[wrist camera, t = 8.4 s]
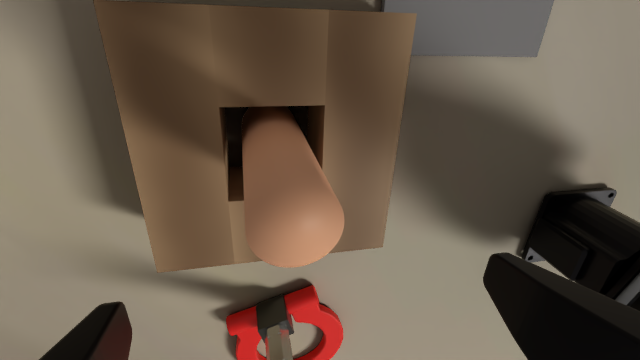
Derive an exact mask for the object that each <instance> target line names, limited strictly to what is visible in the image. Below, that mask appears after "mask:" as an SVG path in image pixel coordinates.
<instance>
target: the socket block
mask: <svg viewBox="0 0 640 360" xmlns="http://www.w3.org/2000/svg"><path fill="white" fill-rule="evenodd" d="M93 2H94V6H95V11H96V15H97V19H98V23H99V28H100V32H101V36H102V40H103V44H104V49H105V53H106V57H107V61H108V66H109V70H110V74H111V78H112V83H113V87H114V91H115V95H116V100H117V104H118V108H119V112H120V117H121V121H122V125H123V129H124V133H125V138H126V142H127V146H128V150H129V155H130V159H131V163H132V167H133V172H134V176H135V180H136V184H137V189H138V193H139V197H140V201H141V206H142V210H143V214H144V218H145V222H146V227H147V231H148V235H149V239H150V244H151V248H152V252H153V256H154V261H155V265H156V269H157V273H160V272H168V271H177V270H186V269H195V268H204V267H212V266H221V265H230V264H239V263H248V262H256V261H263V260H261V259H260V258H259V257H257V256H256V255H255V254H254V253H253V251H252V250H251V249H250V247H249V245H248V243H247V240H246V235H245V213H244V184H243V167H230V160H229V150H228V139H227V128H226V118H225V107H262V106H308V131H307V142H308V144H309V146H310V148H311V150H312V152H313V154H314V156H315V157H316V159H317V161H318V163H319V165H320V167H321V169H322V171H323V173H324V174H325V176H326V178H327V180H328V182H329V184H330V186H331V188H332V190H333V191H334V193H335V195H336V197H337V199H338V201H339V203H340V205H341V207H342V209H343V212H344V218H345V219H344V229H343V233H342V235H341V237H340V239H339V241H338V243H337V244H336V245H335V247H334V248H333V249H332V250H331V251H330V252H329V253H335V252H344V251H353V250H362V249H371V248H379V247H383V242H384V235H385V228H386V221H387V214H388V207H389V201H390V194H391V187H392V180H393V173H394V166H395V160H396V153H397V146H398V139H399V132H400V126H401V119H402V112H403V105H404V98H405V91H406V85H407V78H408V71H409V64H410V57H411V50H412V44H413V37H414V30H415V23H416V16H417V13H394V12H370V11H346V10H322V9H298V8H274V7H250V6H226V5H202V4H178V3H154V2H131V1H107V0H93Z"/></svg>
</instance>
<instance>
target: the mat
mask: <svg viewBox="0 0 640 360" xmlns="http://www.w3.org/2000/svg"><path fill="white" fill-rule="evenodd" d="M553 2H554V0H382V7H381V12H394V13H417V16H416V23H415V30H414V37H413V44H412V50H411V55H428V56H503V57H537V55H538V51H539V48H540V45H541V42H542V38H543V35H544V32H545V28H546V25H547V22H548V19H549V15H550V12H551V9H552V6H553Z"/></svg>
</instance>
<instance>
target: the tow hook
mask: <svg viewBox="0 0 640 360" xmlns="http://www.w3.org/2000/svg"><path fill="white" fill-rule="evenodd" d="M291 314H292V315H293V318H294V320H295V321H296V322H304V323H311V324H313V325H315V326H318V327H319V328H320V329H321V330H322V331H323V334H324V335H323V338H322V340H321V342H320V343H319V345H318V346H317V347H316V348H315V349H314V350H313V351H311V352H309V353H308V354H306V355H304V356H302V357H299V358H296V359H293V356H292V349H291V343H290V338H289V335H291V334H293V333H294V330H293V324H292V318H291ZM226 324H227V328H228V331H229V333H230V335H231V336H233V335H237V336H238V337H237V342H236V357H237V360H329V359H331V358H332V357H333V356H334V355H335V353H336V352H337V350H338V349H339V348H340V345H341V343H342V340H343V328H342V325H341V322H340V320H339V318H338V316H337V315H336V314H335V313H334V312H333V311H332V310H331V309H330V308H327V307H325V306H323V305H321V304H319V299H318V296H317V293H316V290H315V287H314V286H313V285H311V286H309V287H306V288H303V289H300V290H298V291H295V292H292V293H289V294H287V295H280V296H277V297H274V298H271V299H269V300H266V301H263V302H260V303H258V304H257V305H256V306H254V307H251V308H248V309H246V310H243V311H240V312H237V313H235V314H232V315H229V316H227V318H226ZM261 338H262V339H263V341H264V343H265V345H266V358H265V357H263V356H262V355H260V354H259V352H258V351H257V345H258V343H259V341H260V340H261Z"/></svg>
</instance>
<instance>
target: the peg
mask: <svg viewBox="0 0 640 360" xmlns="http://www.w3.org/2000/svg"><path fill="white" fill-rule="evenodd" d="M242 155H243V184H244V213H245V235H246V240H247V243H248V245H249V247H250V249H251V250H252V251H253V253H254V254H255V255H256V256H257V257H259V258H260V259H261V260H263V261H265V262H266V263H269V264H271V265H274V266H278V267H289V268H290V267H300V266H304V265H308V264H311V263H313V262H315V261H317V260H319V259H321V258H322V257H324V256H325V255H327V254H328V253H329V252H330V251H331V250H332V249H333V248H334V247H335V245H336V244H337V243H338V241H339V239H340V237H341V235H342V233H343V229H344V219H345V218H344V212H343V209H342V207H341V205H340V203H339V201H338V199H337V197H336V195H335V193H334V191H333V190H332V188H331V186H330V184H329V182H328V180H327V178H326V176H325V174H324V173H323V171H322V169H321V167H320V165H319V163H318V161H317V159H316V157H315V156H314V154H313V152H312V150H311V148H310V146H309V144H308V142H307V141H306V139H305V137H304V135H303V133H302V131H301V129H300V127H299V125H298V124H297V122H296V120H295V118H294V116H293V114H292V113H291V111H290V110H289V109H288V108H287V107H286V106H262V107H250V108H249V109H248V110H247V111H246V113H245V114H244V116H243V119H242Z"/></svg>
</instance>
